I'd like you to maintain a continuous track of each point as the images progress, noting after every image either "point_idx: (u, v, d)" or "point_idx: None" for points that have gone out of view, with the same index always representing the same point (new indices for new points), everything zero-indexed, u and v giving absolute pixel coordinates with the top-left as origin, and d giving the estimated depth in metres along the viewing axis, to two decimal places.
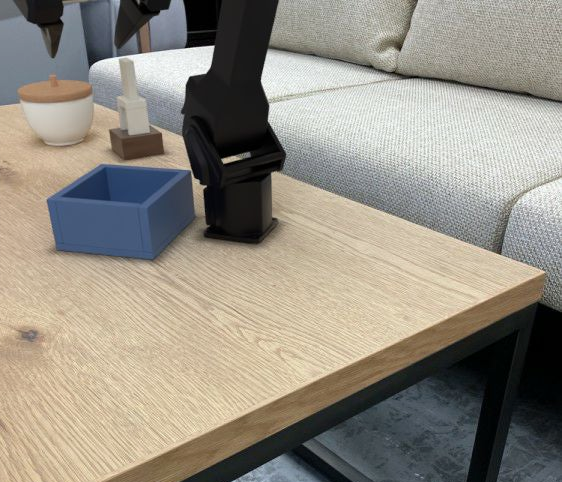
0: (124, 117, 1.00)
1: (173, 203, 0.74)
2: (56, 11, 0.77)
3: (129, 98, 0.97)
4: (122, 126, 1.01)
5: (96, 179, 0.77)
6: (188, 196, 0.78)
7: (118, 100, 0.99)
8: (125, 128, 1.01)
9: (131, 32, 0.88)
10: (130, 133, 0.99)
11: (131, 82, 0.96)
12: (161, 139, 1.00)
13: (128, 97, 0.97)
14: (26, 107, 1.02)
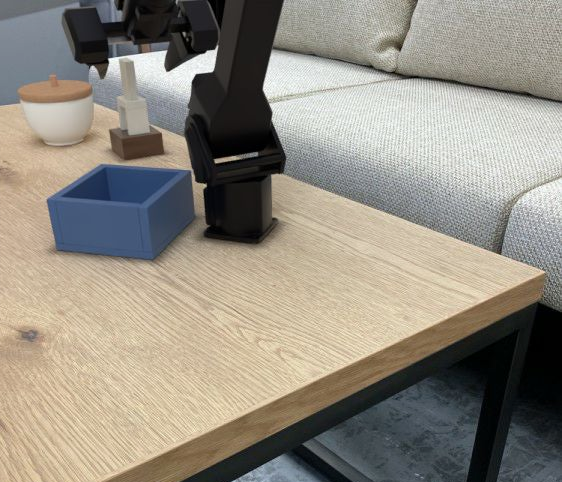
0: (124, 117, 1.00)
1: (173, 203, 0.74)
2: (102, 54, 0.83)
3: (129, 98, 0.97)
4: (122, 126, 1.01)
5: (96, 179, 0.77)
6: (188, 196, 0.78)
7: (118, 100, 0.99)
8: (125, 128, 1.01)
9: (178, 63, 0.93)
10: (130, 133, 0.99)
11: (131, 82, 0.96)
12: (161, 139, 1.00)
13: (128, 97, 0.97)
14: (26, 107, 1.02)
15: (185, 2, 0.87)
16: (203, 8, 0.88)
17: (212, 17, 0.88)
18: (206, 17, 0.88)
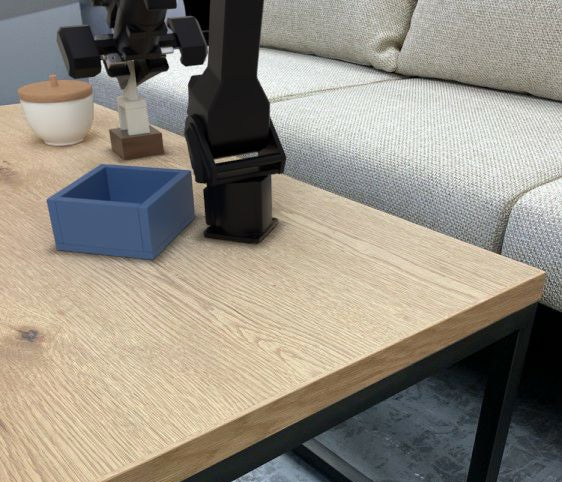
0: (124, 117, 1.00)
1: (173, 203, 0.74)
2: (94, 70, 0.88)
3: (129, 98, 0.97)
4: (122, 126, 1.01)
5: (96, 179, 0.77)
6: (188, 196, 0.78)
7: (118, 100, 0.99)
8: (125, 128, 1.01)
9: (142, 80, 0.96)
10: (130, 133, 0.99)
11: (131, 82, 0.96)
12: (161, 139, 1.00)
13: (128, 97, 0.97)
14: (26, 107, 1.02)
15: (174, 20, 0.92)
16: (191, 25, 0.93)
17: (200, 34, 0.93)
18: (194, 34, 0.92)
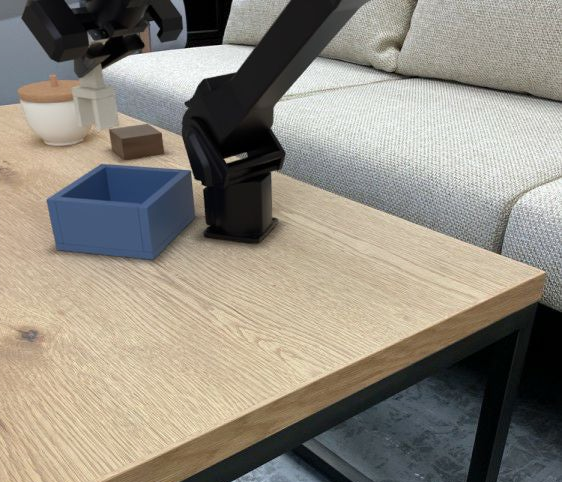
0: (83, 111, 0.85)
1: (173, 203, 0.74)
2: (81, 50, 0.73)
3: (94, 86, 0.82)
4: (81, 122, 0.85)
5: (96, 179, 0.77)
6: (188, 196, 0.78)
7: (76, 91, 0.83)
8: (85, 124, 0.86)
9: (110, 63, 0.81)
10: (101, 128, 0.84)
11: (96, 66, 0.81)
12: (161, 139, 1.00)
13: (92, 85, 0.82)
14: (26, 107, 1.02)
15: None
16: None
17: (172, 4, 0.81)
18: (168, 5, 0.81)
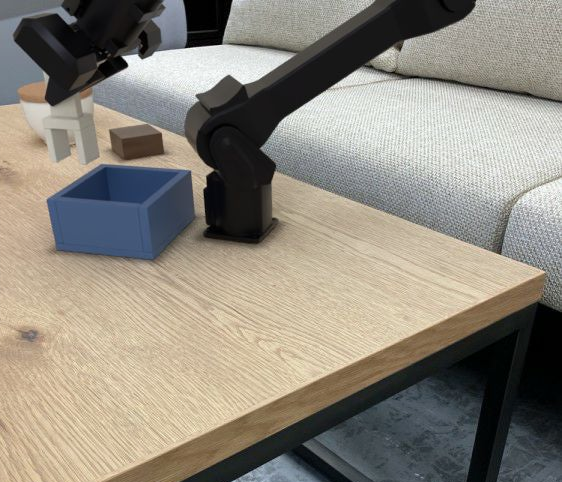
0: (56, 144, 0.73)
1: (173, 203, 0.74)
2: (90, 74, 0.62)
3: (74, 115, 0.71)
4: (56, 157, 0.73)
5: (96, 179, 0.77)
6: (188, 196, 0.78)
7: (50, 122, 0.71)
8: (59, 159, 0.73)
9: None
10: (86, 162, 0.72)
11: None
12: (161, 139, 1.00)
13: (71, 114, 0.71)
14: (26, 107, 1.02)
15: None
16: None
17: None
18: None
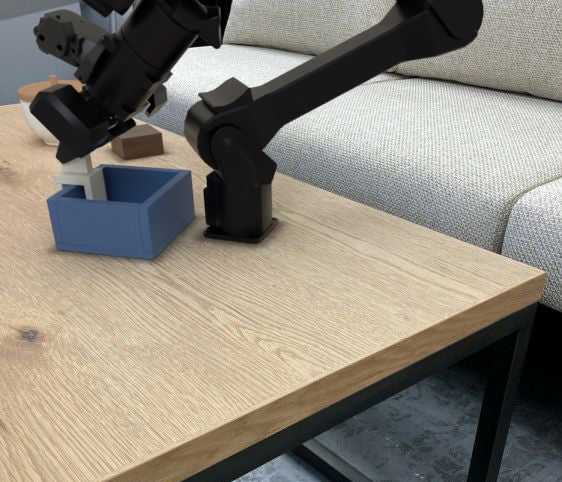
0: None
1: (173, 203, 0.74)
2: (101, 141, 0.65)
3: (84, 171, 0.74)
4: None
5: None
6: (188, 196, 0.78)
7: (61, 178, 0.74)
8: None
9: None
10: None
11: None
12: (161, 139, 1.00)
13: (81, 170, 0.74)
14: (26, 107, 1.02)
15: None
16: None
17: None
18: None
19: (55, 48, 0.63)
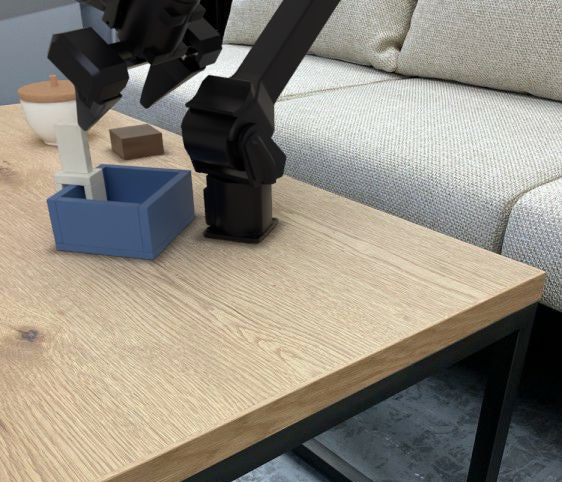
0: None
1: (173, 203, 0.74)
2: (121, 84, 0.61)
3: (84, 171, 0.74)
4: None
5: None
6: (188, 196, 0.78)
7: (61, 178, 0.74)
8: None
9: (170, 91, 0.73)
10: None
11: (86, 150, 0.73)
12: (161, 139, 1.00)
13: (81, 170, 0.74)
14: (26, 107, 1.02)
15: None
16: None
17: (207, 23, 0.71)
18: (202, 24, 0.70)
19: None
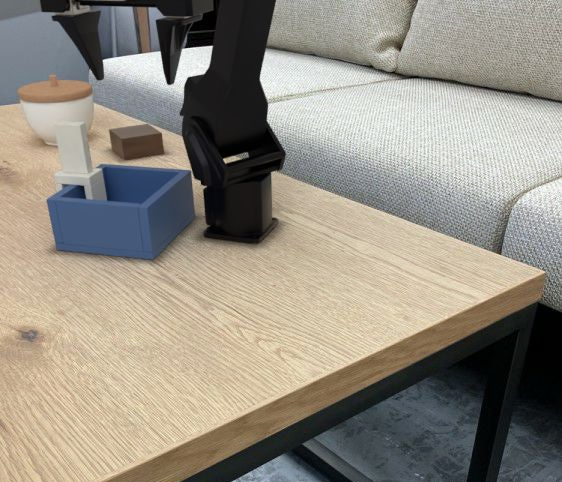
0: None
1: (173, 203, 0.74)
2: None
3: (84, 171, 0.74)
4: None
5: None
6: (188, 196, 0.78)
7: (61, 178, 0.74)
8: None
9: (162, 53, 0.76)
10: None
11: (86, 150, 0.73)
12: (161, 139, 1.00)
13: (81, 170, 0.74)
14: (26, 107, 1.02)
15: None
16: None
17: None
18: None
19: None
